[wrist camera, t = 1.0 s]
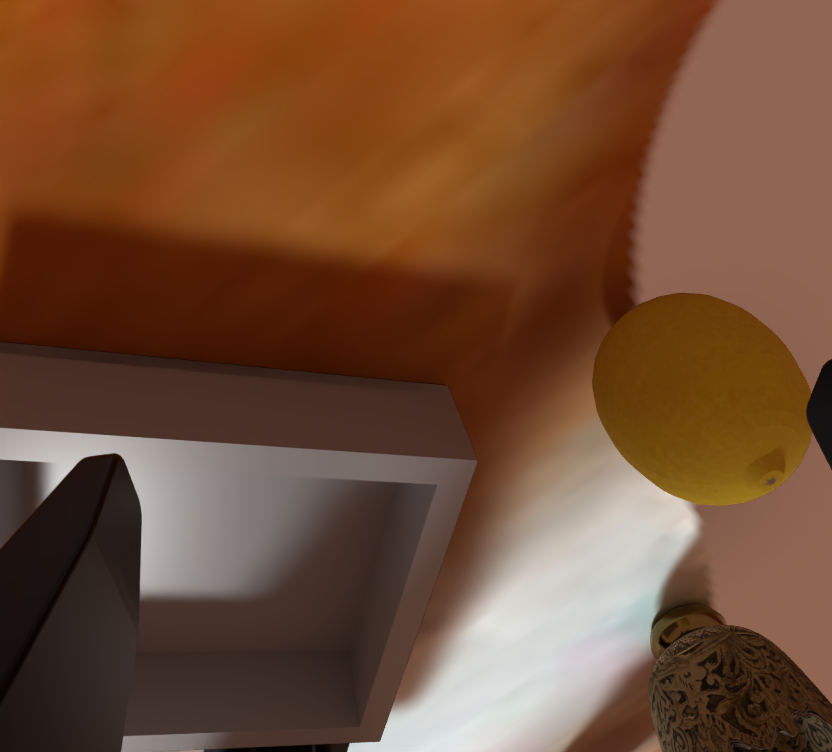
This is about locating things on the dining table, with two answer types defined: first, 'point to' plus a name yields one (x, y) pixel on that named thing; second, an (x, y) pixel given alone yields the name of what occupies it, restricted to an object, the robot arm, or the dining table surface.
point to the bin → (252, 531)
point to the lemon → (702, 399)
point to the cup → (730, 690)
